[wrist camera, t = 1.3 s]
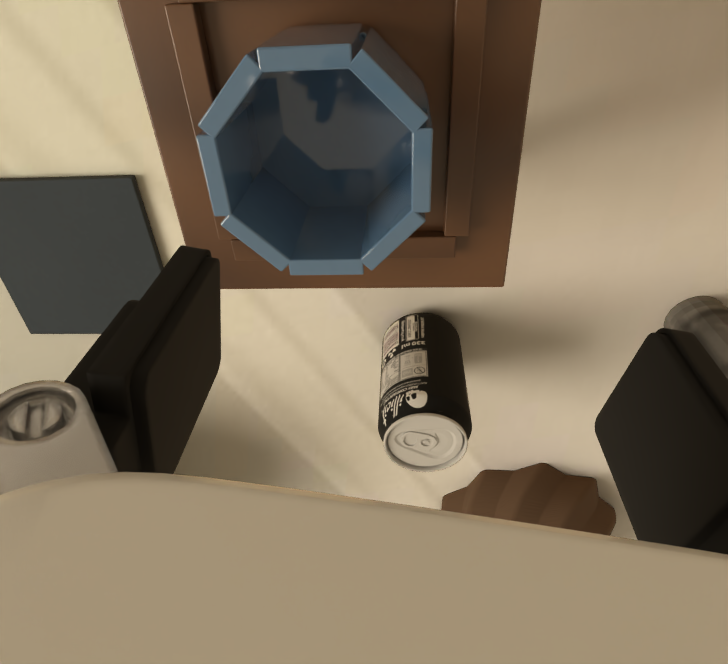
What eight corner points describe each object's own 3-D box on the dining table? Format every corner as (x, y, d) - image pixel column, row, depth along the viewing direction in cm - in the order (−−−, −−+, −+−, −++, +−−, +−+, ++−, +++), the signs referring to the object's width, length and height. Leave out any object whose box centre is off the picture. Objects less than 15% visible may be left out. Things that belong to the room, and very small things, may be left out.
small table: (230, -80, 29) (77, -105, 15) (487, -96, 27) (565, -139, 14) (269, 171, 37) (193, 296, 24) (468, 166, 36) (506, 295, 22)
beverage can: (449, 372, 47) (461, 481, 37) (377, 362, 47) (371, 469, 37) (467, 313, 43) (485, 418, 33) (389, 302, 43) (385, 404, 33)
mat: (-45, 179, 39) (-51, 182, 38) (134, 174, 38) (131, 177, 37) (34, 330, 47) (30, 333, 47) (183, 329, 46) (181, 333, 45)
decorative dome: (480, 579, 67) (490, 664, 59) (405, 495, 58) (405, 583, 50) (633, 542, 61) (668, 633, 52) (576, 440, 51) (608, 532, 43)
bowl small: (227, 28, 18) (174, 51, 14) (428, 18, 17) (436, 39, 13) (260, 215, 22) (227, 276, 18) (424, 212, 21) (428, 274, 17)
